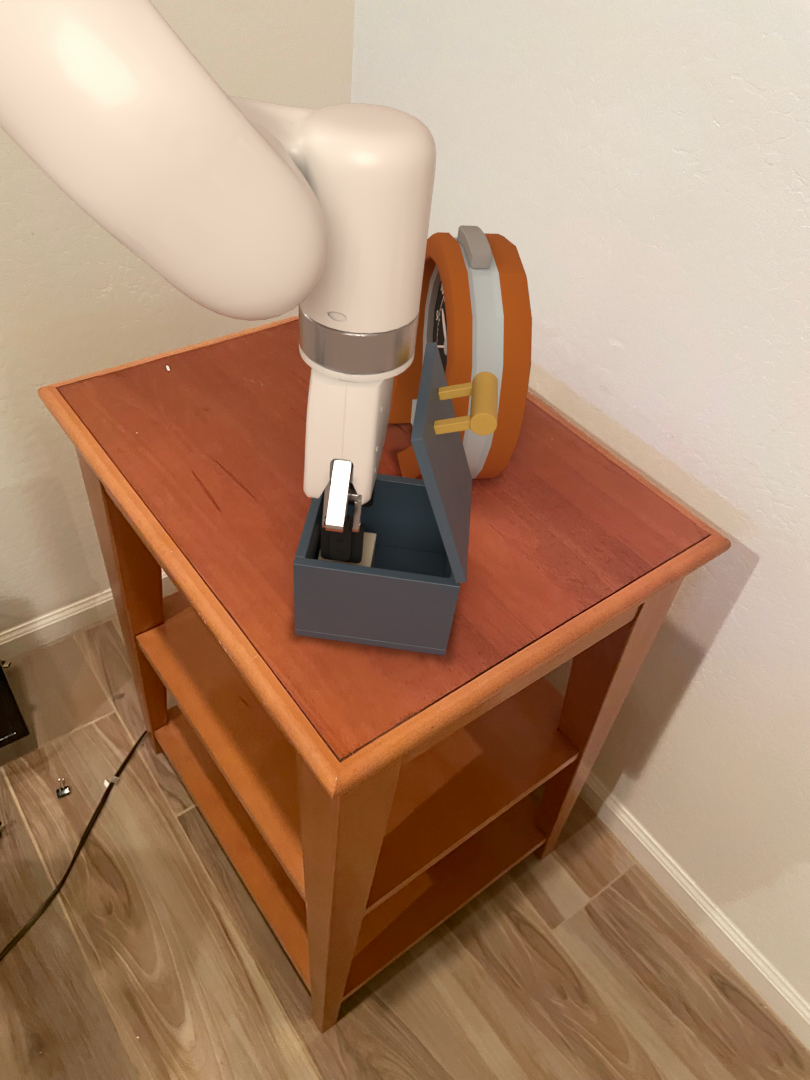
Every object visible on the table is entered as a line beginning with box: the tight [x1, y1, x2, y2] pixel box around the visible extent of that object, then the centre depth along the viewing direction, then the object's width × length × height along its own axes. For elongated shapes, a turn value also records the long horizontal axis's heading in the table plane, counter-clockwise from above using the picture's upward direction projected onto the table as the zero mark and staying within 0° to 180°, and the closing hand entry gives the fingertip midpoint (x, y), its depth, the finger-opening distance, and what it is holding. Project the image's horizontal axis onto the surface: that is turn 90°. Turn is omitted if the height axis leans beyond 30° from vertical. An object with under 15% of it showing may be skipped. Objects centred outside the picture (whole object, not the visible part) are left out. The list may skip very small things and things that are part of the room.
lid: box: [410, 342, 498, 584], centre depth 53 cm, size 13×12×5 cm
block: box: [318, 532, 377, 568], centre depth 63 cm, size 4×4×4 cm
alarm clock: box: [388, 224, 533, 480], centre depth 73 cm, size 22×10×23 cm, turn 9°
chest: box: [292, 473, 462, 657], centre depth 62 cm, size 13×12×9 cm
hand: (348, 528), depth 59 cm, fingers open, 5 cm apart
